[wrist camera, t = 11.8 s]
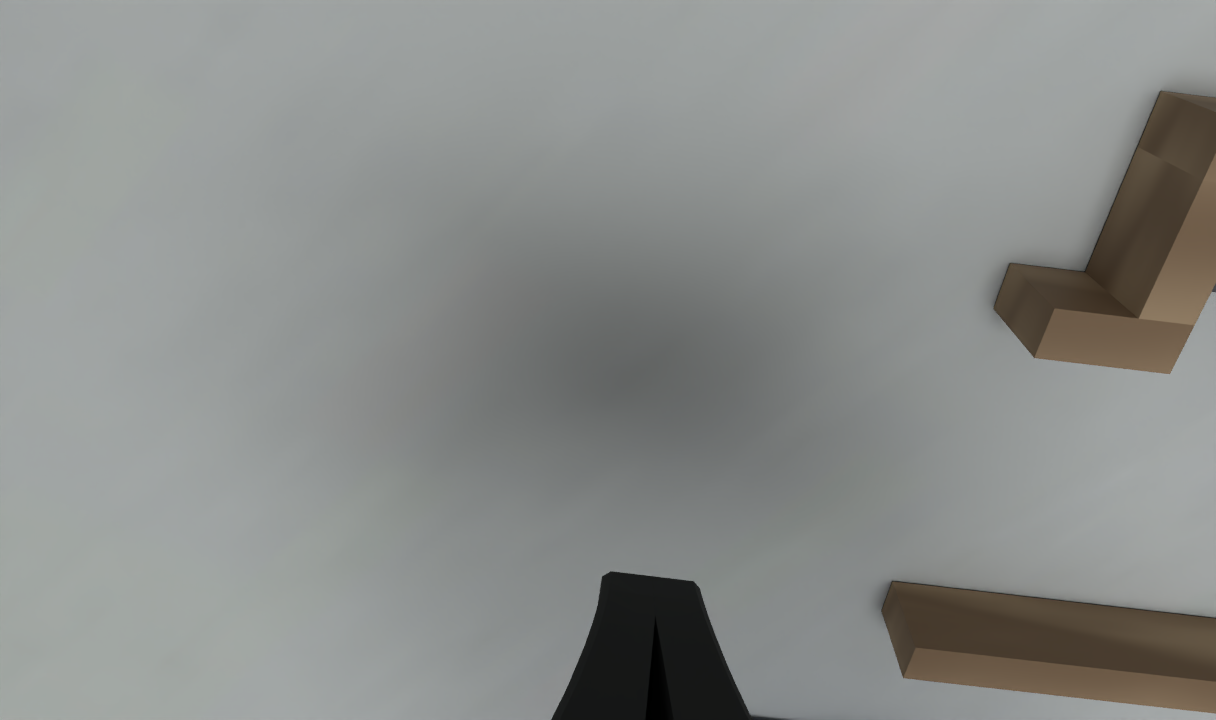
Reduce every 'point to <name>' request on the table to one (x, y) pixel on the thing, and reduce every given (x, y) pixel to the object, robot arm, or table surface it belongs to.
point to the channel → (1113, 337)
